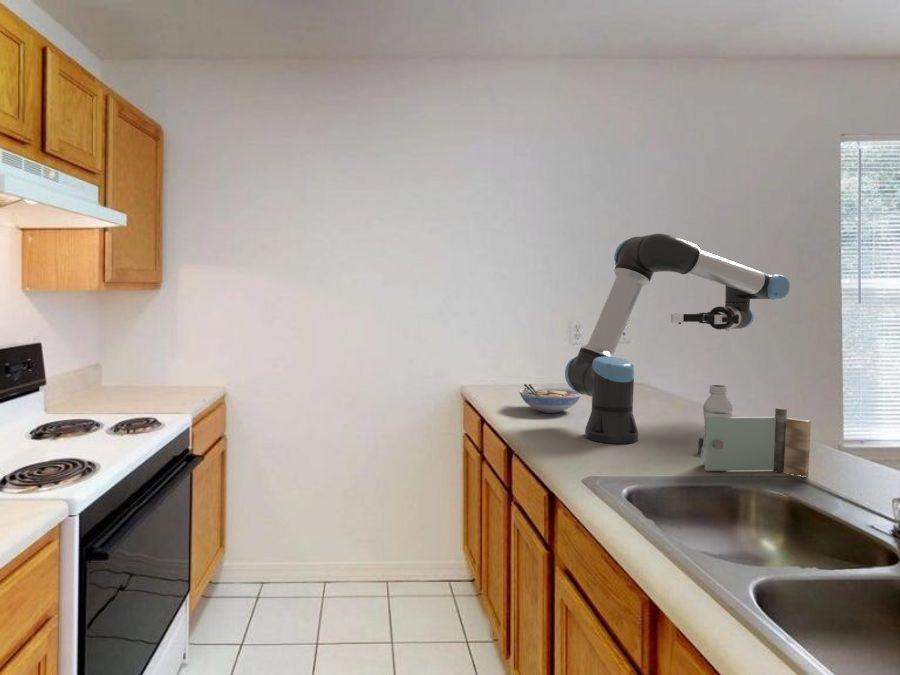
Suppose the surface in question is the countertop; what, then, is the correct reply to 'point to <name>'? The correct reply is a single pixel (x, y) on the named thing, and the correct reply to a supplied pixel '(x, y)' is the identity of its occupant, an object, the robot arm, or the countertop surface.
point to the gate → (739, 443)
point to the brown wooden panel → (788, 444)
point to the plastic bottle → (715, 408)
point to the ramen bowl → (549, 398)
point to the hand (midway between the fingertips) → (693, 318)
